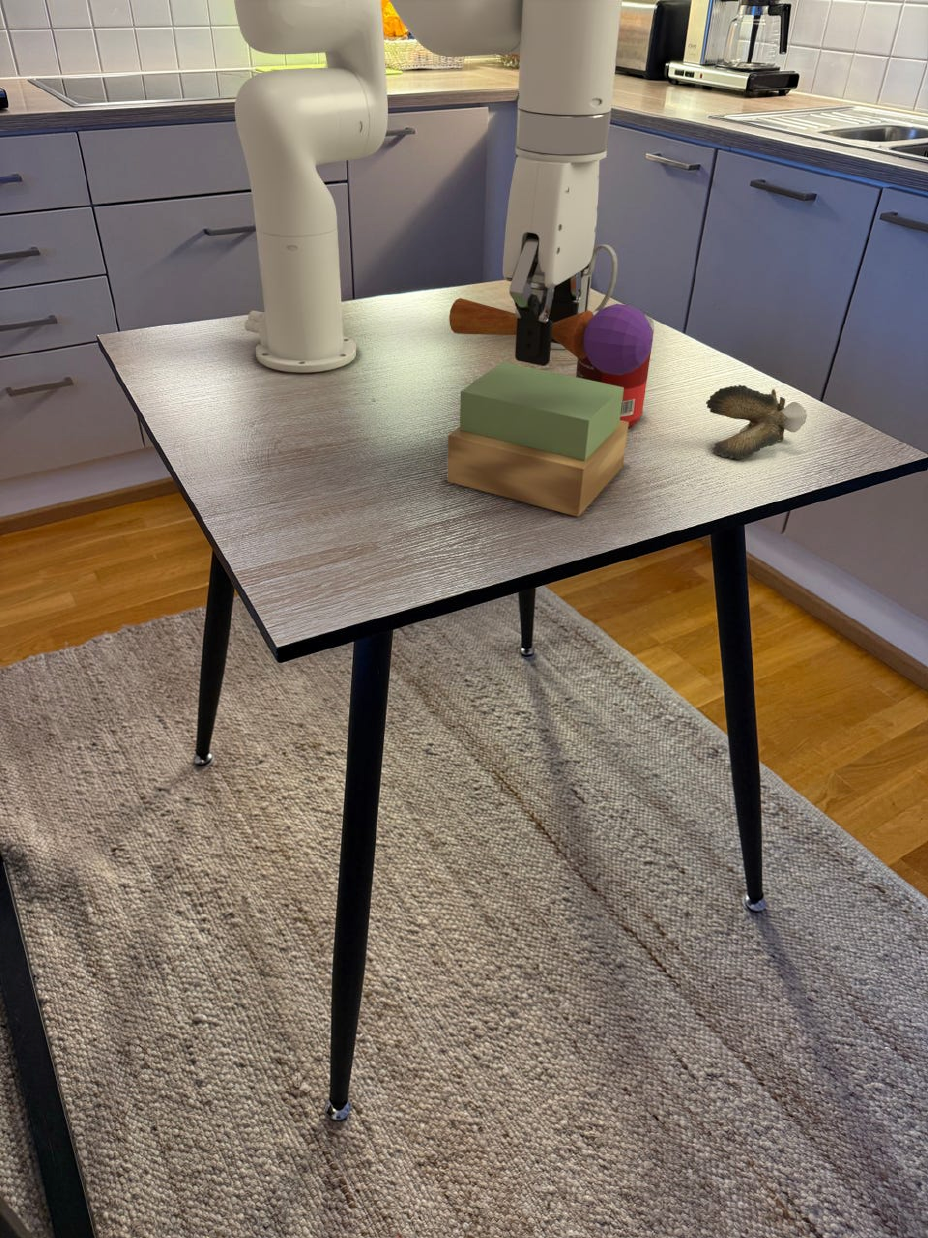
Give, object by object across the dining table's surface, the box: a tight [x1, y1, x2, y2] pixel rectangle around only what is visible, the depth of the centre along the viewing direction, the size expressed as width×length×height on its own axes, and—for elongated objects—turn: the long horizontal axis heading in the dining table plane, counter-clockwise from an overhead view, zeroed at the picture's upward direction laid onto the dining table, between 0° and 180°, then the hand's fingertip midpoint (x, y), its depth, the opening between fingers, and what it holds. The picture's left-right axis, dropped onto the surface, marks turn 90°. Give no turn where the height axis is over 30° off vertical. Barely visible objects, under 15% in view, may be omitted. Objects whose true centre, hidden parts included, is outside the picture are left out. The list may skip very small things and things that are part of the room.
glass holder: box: [531, 243, 619, 350], centre depth 121 cm, size 9×14×15 cm, turn 36°
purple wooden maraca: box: [448, 297, 654, 375], centre depth 86 cm, size 6×6×20 cm
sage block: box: [459, 361, 624, 461], centre depth 90 cm, size 13×9×4 cm
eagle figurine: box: [705, 384, 808, 459], centre depth 99 cm, size 8×7×9 cm
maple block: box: [446, 420, 629, 518], centre depth 93 cm, size 14×12×5 cm
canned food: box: [575, 310, 655, 428], centre depth 103 cm, size 8×8×11 cm
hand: (545, 350), depth 87 cm, fingers closed on purple wooden maraca, 5 cm apart
